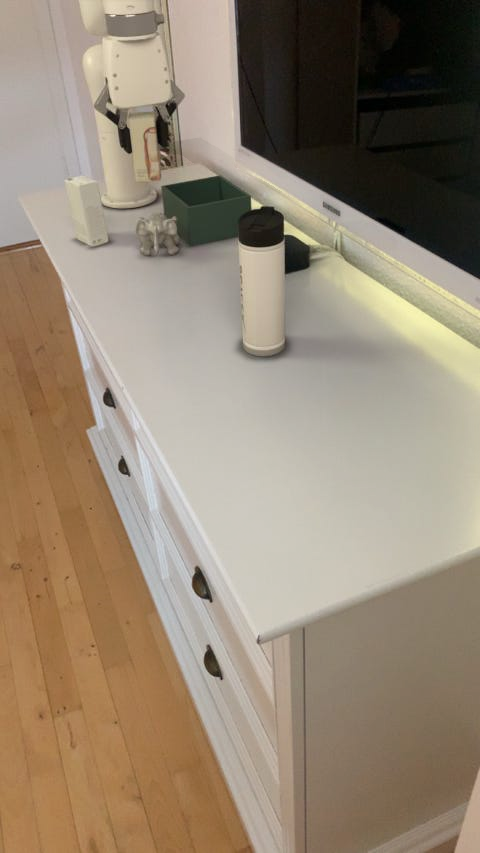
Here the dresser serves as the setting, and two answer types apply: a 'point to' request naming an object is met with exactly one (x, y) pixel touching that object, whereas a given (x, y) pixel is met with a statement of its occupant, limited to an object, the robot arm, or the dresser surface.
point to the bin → (205, 208)
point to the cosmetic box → (87, 210)
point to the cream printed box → (144, 146)
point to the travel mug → (262, 280)
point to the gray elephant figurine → (158, 233)
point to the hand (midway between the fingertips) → (145, 147)
